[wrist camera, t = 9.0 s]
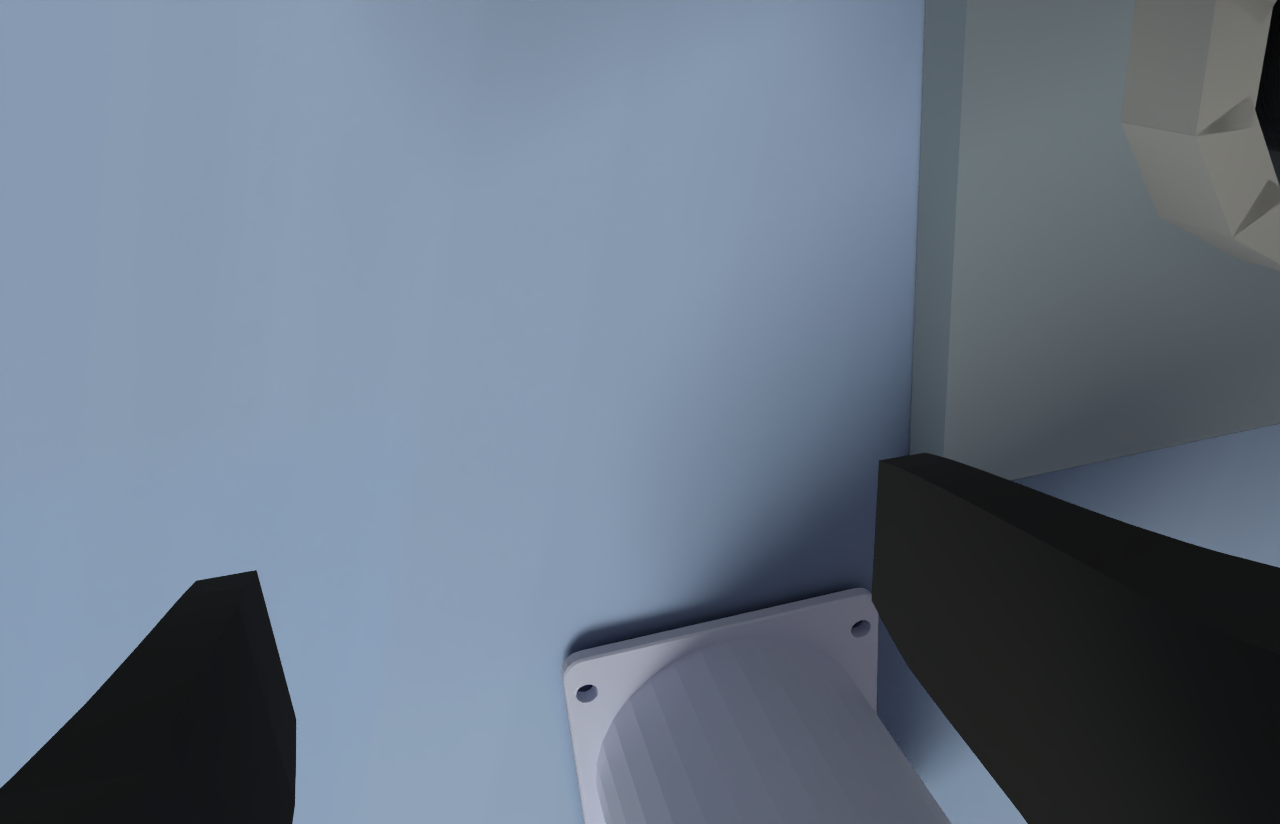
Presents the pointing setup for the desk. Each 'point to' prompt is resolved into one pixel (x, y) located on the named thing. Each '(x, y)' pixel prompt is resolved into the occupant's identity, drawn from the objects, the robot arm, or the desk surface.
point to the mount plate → (1093, 231)
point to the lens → (1271, 85)
